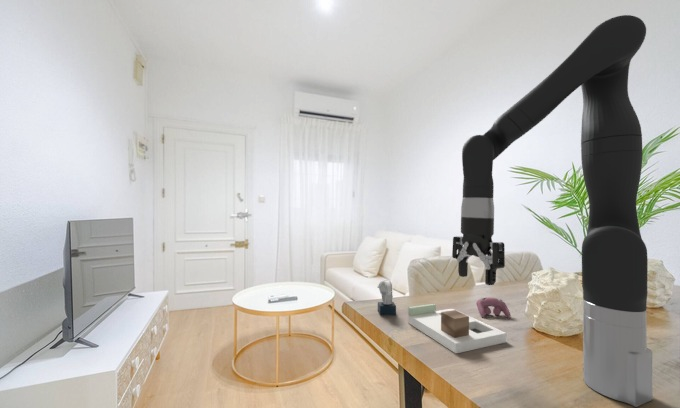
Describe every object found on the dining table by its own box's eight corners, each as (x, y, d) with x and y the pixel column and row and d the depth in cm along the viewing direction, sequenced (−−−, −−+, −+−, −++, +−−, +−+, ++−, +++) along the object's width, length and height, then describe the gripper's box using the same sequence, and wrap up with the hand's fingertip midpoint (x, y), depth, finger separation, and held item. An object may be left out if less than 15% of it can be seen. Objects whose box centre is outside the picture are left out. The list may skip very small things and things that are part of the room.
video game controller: (506, 320, 96) (502, 299, 99) (512, 318, 92) (508, 296, 95) (476, 318, 97) (473, 297, 100) (481, 316, 93) (478, 295, 96)
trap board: (506, 342, 76) (506, 323, 76) (455, 353, 69) (455, 333, 70) (452, 315, 95) (452, 301, 95) (408, 322, 88) (408, 307, 88)
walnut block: (468, 335, 74) (469, 316, 74) (454, 337, 72) (454, 318, 73) (454, 327, 79) (455, 310, 79) (441, 330, 77) (441, 312, 77)
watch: (391, 308, 101) (391, 278, 101) (397, 317, 93) (397, 284, 93) (376, 308, 100) (376, 278, 101) (380, 317, 92) (381, 284, 93)
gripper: (514, 217, 65) (512, 287, 65) (466, 215, 78) (465, 272, 78) (490, 217, 62) (488, 289, 62) (445, 214, 76) (443, 274, 75)
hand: (475, 280), depth 70 cm, fingers open, 8 cm apart
